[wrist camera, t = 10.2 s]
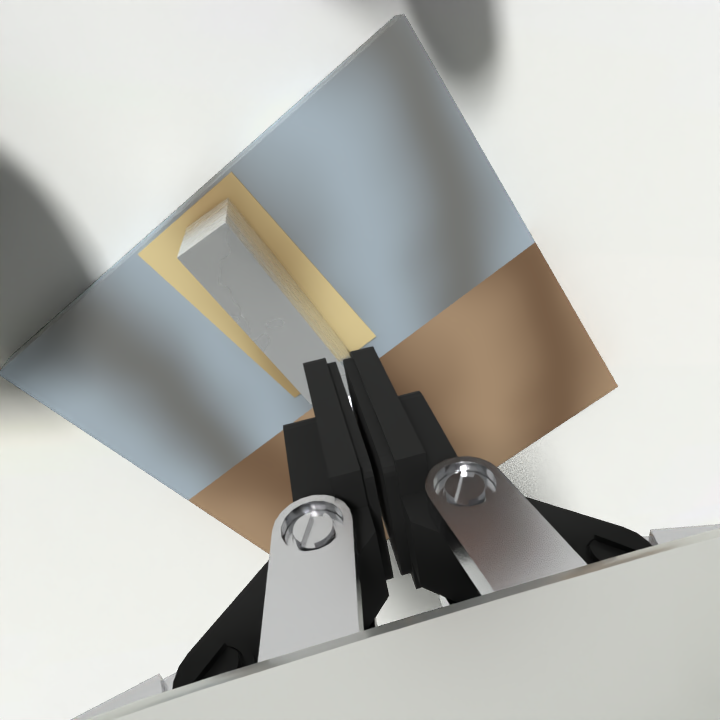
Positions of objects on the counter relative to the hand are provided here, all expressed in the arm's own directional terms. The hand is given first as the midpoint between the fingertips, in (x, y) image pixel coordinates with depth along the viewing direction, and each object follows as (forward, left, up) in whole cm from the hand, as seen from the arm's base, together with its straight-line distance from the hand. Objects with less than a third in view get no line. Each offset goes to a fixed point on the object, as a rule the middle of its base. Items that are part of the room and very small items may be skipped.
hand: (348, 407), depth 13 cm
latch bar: (-2, -1, -9) cm, 9 cm away
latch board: (-2, -5, -10) cm, 12 cm away
